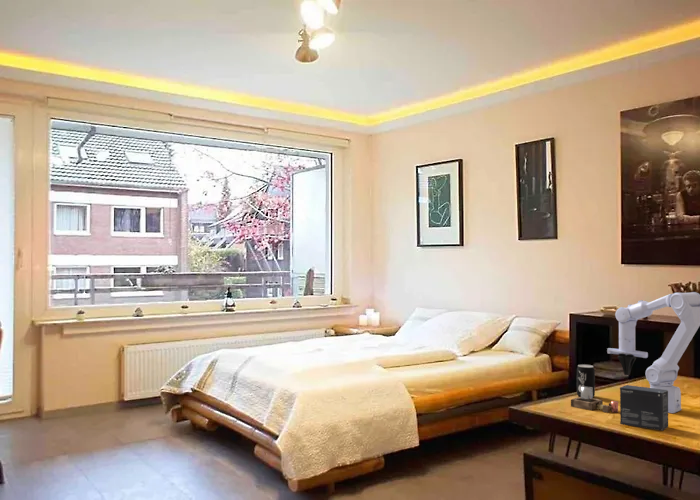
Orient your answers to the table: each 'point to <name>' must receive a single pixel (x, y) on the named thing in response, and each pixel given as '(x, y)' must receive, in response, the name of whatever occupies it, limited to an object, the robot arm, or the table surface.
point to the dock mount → (589, 404)
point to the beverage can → (585, 378)
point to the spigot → (586, 394)
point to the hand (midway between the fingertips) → (627, 374)
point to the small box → (644, 407)
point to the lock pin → (612, 408)
